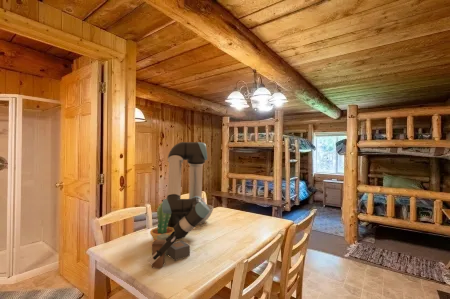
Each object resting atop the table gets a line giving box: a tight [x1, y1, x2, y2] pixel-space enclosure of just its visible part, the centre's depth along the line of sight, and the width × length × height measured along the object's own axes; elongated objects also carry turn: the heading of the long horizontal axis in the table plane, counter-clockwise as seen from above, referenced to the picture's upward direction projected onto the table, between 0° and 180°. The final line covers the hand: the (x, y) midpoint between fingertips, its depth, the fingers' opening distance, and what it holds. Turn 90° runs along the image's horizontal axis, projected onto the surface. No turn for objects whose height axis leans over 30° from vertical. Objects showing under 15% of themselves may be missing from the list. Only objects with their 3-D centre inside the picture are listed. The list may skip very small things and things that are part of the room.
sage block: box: [157, 233, 170, 255], centre depth 133 cm, size 5×5×10 cm
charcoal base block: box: [166, 240, 191, 262], centre depth 130 cm, size 9×9×6 cm
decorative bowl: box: [196, 204, 214, 226], centre depth 190 cm, size 27×27×12 cm
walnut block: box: [151, 240, 166, 269], centre depth 118 cm, size 5×5×12 cm
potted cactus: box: [149, 202, 174, 242], centre depth 146 cm, size 15×15×25 cm
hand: (154, 256), depth 118 cm, fingers open, 13 cm apart
